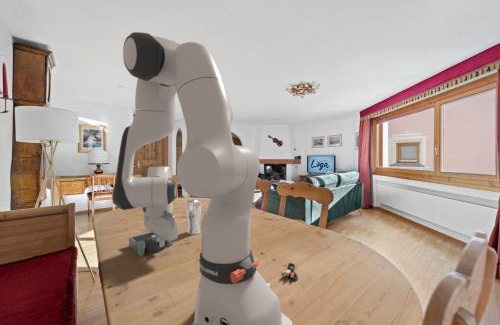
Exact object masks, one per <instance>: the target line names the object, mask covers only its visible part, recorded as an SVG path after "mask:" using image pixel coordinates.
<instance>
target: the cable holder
mask: <svg viewBox="0 0 500 325" xmlns="http://www.w3.org/2000/svg"><path fill="white" fill-rule="evenodd" d="M152 235H155V234H154V233H153V232H151V231H149V232H146V233H142V234H138V235H133V236H131V237H128V247H129V248H130V249H132V250H133V251H134V252H135V253H137V255H138V257H142V256H145V239H146V238H149V237H151V236H152ZM165 245H166V246H167V247H172V246H173V240H172V241H167V240H165Z"/></svg>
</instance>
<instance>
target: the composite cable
mask: <svg viewBox="0 0 500 325" xmlns="http://www.w3.org/2000/svg"><path fill="white" fill-rule="evenodd" d="M291 266H292V267H293V268H292V267H291ZM287 267H288V269H285V270H283V271H282V272H281V274H280V276H284V277H285V279H286V280H288V279H291V280H292V281H294V282H295V281H297V280H298V279H299V277H298V274H297V273H296V272H295V269H296V265H295V264H294V263H291V262H289V263H288V264H287Z"/></svg>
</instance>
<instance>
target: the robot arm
mask: <svg viewBox="0 0 500 325" xmlns="http://www.w3.org/2000/svg"><path fill="white" fill-rule="evenodd" d="M122 58H123V63H124V66H125V68H126V70H127V71H128V72H129V74H130V75H131V76H132V77H135V78H137V80H136V88H135V97H134V98H135V99H134V100H135V102H134V105H135V106H134V107H135V108H134V109H135V111H134V112H135V115H134V118H133V121H132V122H131V124H130V125H128V126H126V127H125V128H124V130H123V133H122V136H121V141H120V145H119V153H118V160H117V166H116V172H115V173H116V175H115V181H114V185H113V188H112V192H111V200H112V204H114V205H115V206H116V207H117V208H118V209H121V210H122V211H126V210H127V211H128V210H133V209H137V208H142V209H141V210H142V212H143V224H144V228H145V229H146V230H147V231H149V232H153V233H154V234H155V238H156V244H157V245H158V246H159V247H165V245H166V244H165V240H167V241H172V242H173V241H174V240H177V239H178V238H179V227H178V220H177V218H176V217H175V216H174V214H173V213H174V211H173V210H174V205H173V204H174V203H173V202H174V201H175V200H176V198H177V192H176V184H177V182H176V181H175V180H174V179H173V176H172V171H171V168H170V166H168V165H151V166H150V167H148V170H147V175H146V177H135V176H133V169H134V163H135V157H136V153H137V151H138V150H139V149H140V148H142V147H144V146H146V145H148V144H152V143H155V142H158V141H160V140H163V139H165V138H166V137H168V136H169V135H170V134H171V133H173V131H174V128H175V126H176V125H175V123H176V100H175V99H176V94H177V98H178V102H179V105H180V108H181V111H182V115H183V119H184V123H185V127H186V143H185V148H184V151H183V152H182V153H181V155H180V157H179V159H178V161H177V165H176V175H177V181H178V183H179V185H180V186H181V189H183V191H184V192H186V193H187V194H188V195H189V196H192V197H195V198H205V199H206V198H210V201H209V204H208V206H207V209H206V211H205V213H204V214H203V217H202V219H201V252H200V254H199V260H198V264H199V272H200V279H199V282H198V286H197V289H196V295H195V308H194V320H193V322H192V324H191V325H293V321H292V320H291V319H290V318H289V317H288V316H287V315H286V314H284V313H283V312H282V309H281V302H280V300H279V297H278V295H277V294H276V293H275V292H274V290H273V288H272V285H271V284H270V283H269V282H266V280H265V279H264V278H263V277H262V275H261V274H260V273H259V272H258V271H257V267H258V266H260V261H261V260H260V259H257V260H256V261H255V258H254V255H253V251H252V250H251V216H252V207H253V203H254V197H255V192H256V185H257V179H258V177H259V175H260V172H261V162H260V159H259V157H258V156H257V154H256V153H255V152H254V151H252V150H251V149H250V148H248V147H246V146H243V145H237V144H235V143H234V141H233V137H232V123H231V122H232V120H233V118H234V112H233V109H232V106H231V103H230V100H229V99H230V98H229V97H228V94H227V90H226V88H225V85H224V82H223V78H222V76H221V73H220V71H219V69H218V66H217V64H216V63H215V59H214V58H213V56H212V55H211V53H210V51H209V49H207V47H206V46H204V45H203V44H201V43H199V42H194V41H190V42H189V41H188V42H184V43H178V42H175V41H174V40H170V39H168V38H164V37H160V36H155V35H151V34H150V33H147V32H137V31H136V32H134V31H133V32H131V33H130V34H129V35H128V36H127V37H126V38H125V40H124V43H123V48H122Z"/></svg>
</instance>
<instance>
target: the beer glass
mask: <svg viewBox="0 0 500 325" xmlns="http://www.w3.org/2000/svg"><path fill="white" fill-rule="evenodd" d="M201 201H202V200H200V199H189V200H187V201H186V206H185V211H186V214H185V215H186V219H187V232H186V233H187V234H188V235H198V234H200V233H202V229H201V227H200V226H201V225H200V223H201V216H202V202H201Z"/></svg>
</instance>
